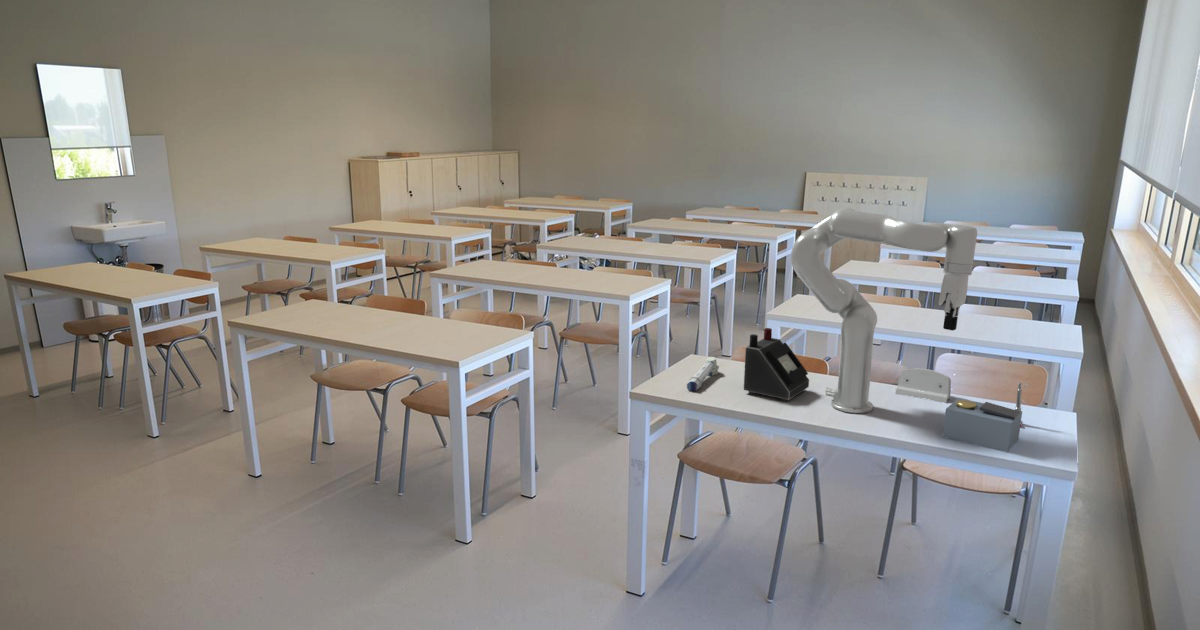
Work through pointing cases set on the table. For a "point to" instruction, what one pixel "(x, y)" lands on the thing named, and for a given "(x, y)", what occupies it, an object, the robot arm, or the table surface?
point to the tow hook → (1019, 398)
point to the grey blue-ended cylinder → (703, 374)
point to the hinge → (924, 384)
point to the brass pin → (966, 404)
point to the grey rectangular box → (981, 427)
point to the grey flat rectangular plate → (1000, 410)
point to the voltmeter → (773, 368)
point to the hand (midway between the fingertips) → (949, 329)
